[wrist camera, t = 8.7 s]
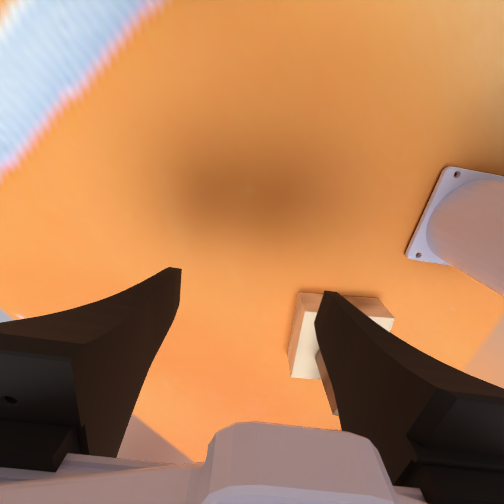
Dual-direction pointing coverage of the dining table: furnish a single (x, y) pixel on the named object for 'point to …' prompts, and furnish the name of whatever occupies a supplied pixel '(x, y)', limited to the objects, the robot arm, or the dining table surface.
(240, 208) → the dining table surface
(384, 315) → the birch block
